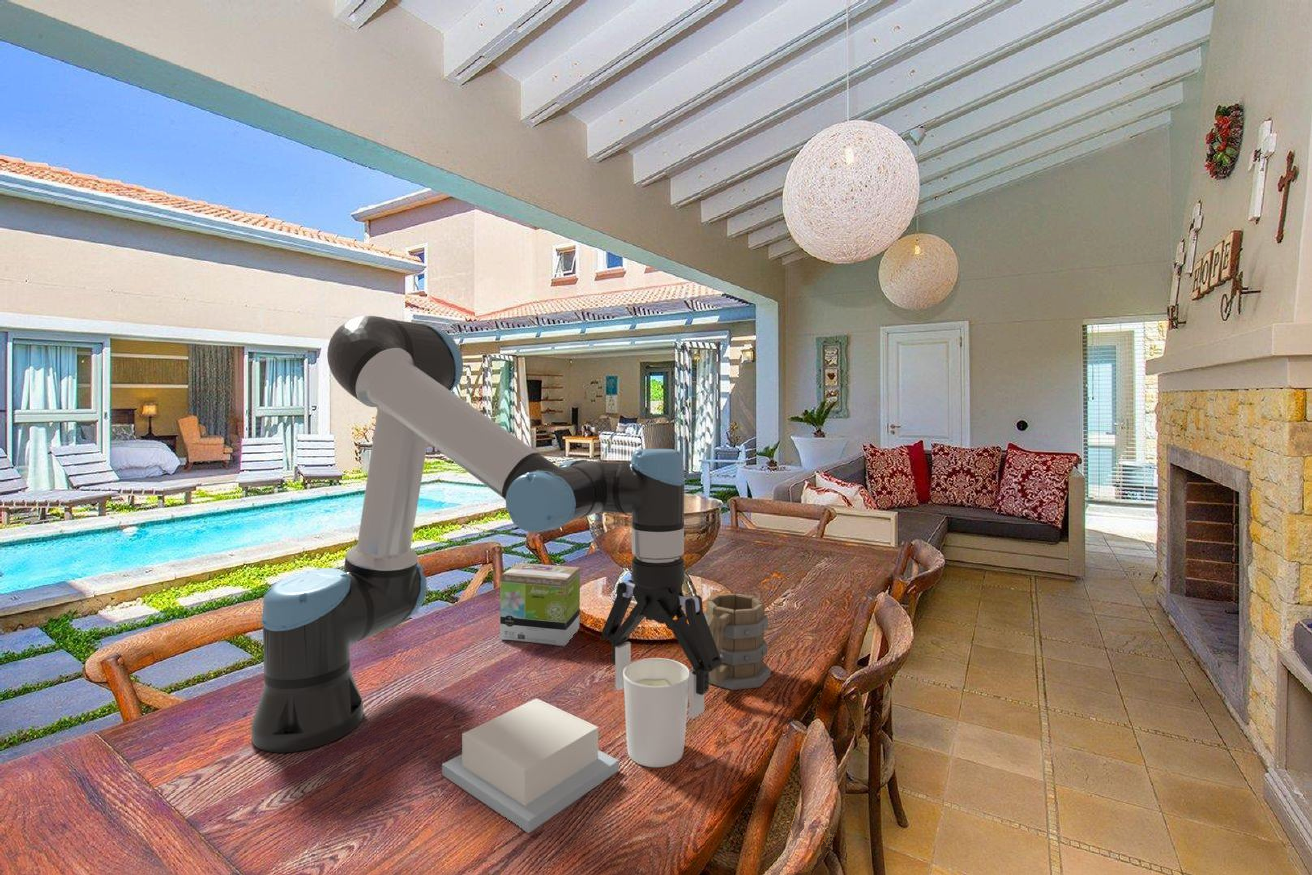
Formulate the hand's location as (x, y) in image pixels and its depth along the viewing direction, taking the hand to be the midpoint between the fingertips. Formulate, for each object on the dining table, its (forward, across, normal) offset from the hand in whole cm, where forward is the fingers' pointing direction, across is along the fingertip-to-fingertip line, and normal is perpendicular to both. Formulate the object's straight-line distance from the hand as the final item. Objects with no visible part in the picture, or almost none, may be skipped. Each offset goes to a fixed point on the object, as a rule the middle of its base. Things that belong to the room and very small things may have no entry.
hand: (658, 700), depth 89 cm
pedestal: (+8, +10, +15) cm, 20 cm away
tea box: (+8, +47, -19) cm, 52 cm away
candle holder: (+8, 0, 0) cm, 8 cm away
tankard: (+8, +4, -26) cm, 27 cm away
